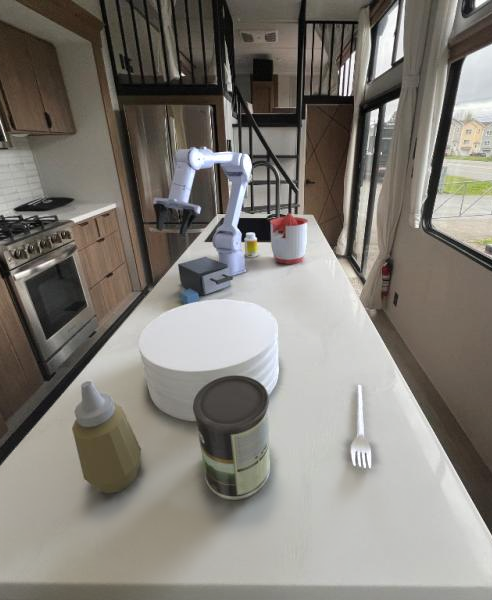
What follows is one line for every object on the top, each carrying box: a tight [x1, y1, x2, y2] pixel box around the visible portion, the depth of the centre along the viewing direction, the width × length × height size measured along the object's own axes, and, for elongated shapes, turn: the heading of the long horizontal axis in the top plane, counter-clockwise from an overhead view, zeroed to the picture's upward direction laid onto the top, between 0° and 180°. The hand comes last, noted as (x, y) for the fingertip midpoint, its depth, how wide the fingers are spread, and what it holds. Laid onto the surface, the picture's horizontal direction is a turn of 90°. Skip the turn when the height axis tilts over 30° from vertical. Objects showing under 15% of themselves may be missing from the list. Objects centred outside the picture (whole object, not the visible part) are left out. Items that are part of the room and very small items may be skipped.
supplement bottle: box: [244, 232, 259, 258], centre depth 145 cm, size 6×6×10 cm
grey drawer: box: [201, 268, 234, 295], centre depth 112 cm, size 17×10×6 cm, turn 44°
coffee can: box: [193, 375, 271, 501], centre depth 47 cm, size 10×10×14 cm
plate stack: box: [137, 298, 280, 422], centre depth 69 cm, size 28×28×12 cm
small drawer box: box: [177, 256, 228, 297], centre depth 115 cm, size 14×12×8 cm
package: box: [178, 288, 200, 305], centre depth 104 cm, size 4×5×4 cm
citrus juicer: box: [269, 212, 309, 265], centre depth 135 cm, size 16×17×20 cm
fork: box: [349, 384, 372, 470], centre depth 57 cm, size 3×20×2 cm, turn 167°
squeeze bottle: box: [71, 380, 142, 495], centre depth 46 cm, size 8×8×18 cm
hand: (170, 232), depth 97 cm, fingers open, 7 cm apart
